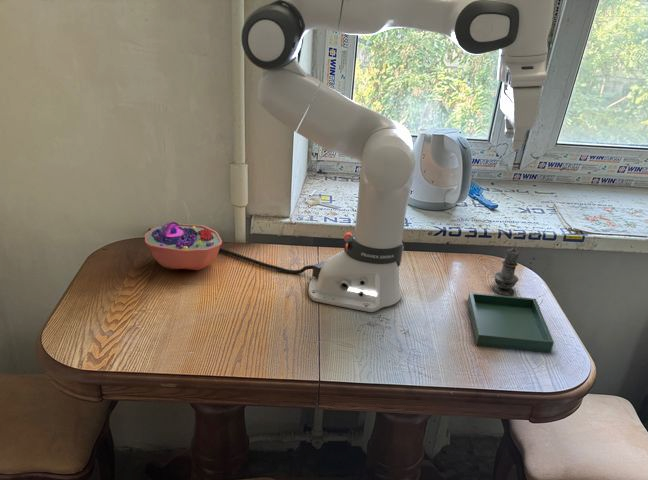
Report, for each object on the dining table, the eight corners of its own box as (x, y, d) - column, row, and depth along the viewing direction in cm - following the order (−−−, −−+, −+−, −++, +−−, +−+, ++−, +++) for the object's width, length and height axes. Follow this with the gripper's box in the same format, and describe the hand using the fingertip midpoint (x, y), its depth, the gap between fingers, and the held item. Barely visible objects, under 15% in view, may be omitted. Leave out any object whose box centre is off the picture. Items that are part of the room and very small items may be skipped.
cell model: (199, 289, 144) (197, 245, 138) (132, 270, 151) (127, 227, 144) (236, 262, 157) (235, 222, 151) (173, 246, 164) (169, 206, 157)
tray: (476, 345, 129) (478, 334, 127) (467, 301, 145) (469, 292, 144) (550, 352, 127) (553, 342, 126) (532, 308, 144) (535, 298, 142)
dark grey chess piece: (516, 296, 148) (528, 252, 142) (491, 293, 149) (502, 249, 142) (514, 286, 153) (525, 242, 146) (490, 283, 154) (501, 239, 147)
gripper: (497, 63, 126) (490, 131, 133) (512, 79, 109) (504, 156, 116) (528, 61, 125) (520, 130, 132) (549, 77, 108) (537, 155, 115)
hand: (512, 142), depth 124 cm, fingers open, 8 cm apart
